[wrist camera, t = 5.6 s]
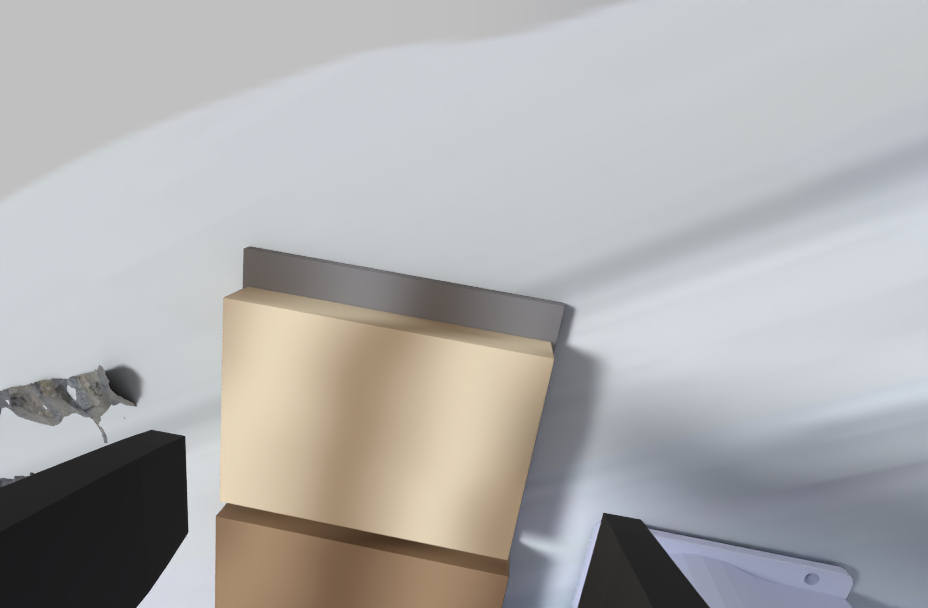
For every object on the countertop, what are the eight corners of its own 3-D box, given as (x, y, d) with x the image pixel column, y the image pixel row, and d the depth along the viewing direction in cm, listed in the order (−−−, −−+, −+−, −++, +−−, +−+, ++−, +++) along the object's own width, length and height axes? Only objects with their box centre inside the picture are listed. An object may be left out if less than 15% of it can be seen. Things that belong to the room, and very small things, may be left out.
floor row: (563, 303, 16) (570, 320, 15) (485, 641, 21) (482, 687, 19) (249, 246, 17) (218, 256, 15) (239, 589, 21) (214, 628, 20)
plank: (550, 341, 16) (554, 359, 15) (507, 529, 19) (507, 560, 17) (247, 286, 17) (223, 297, 15) (241, 476, 19) (219, 501, 18)
